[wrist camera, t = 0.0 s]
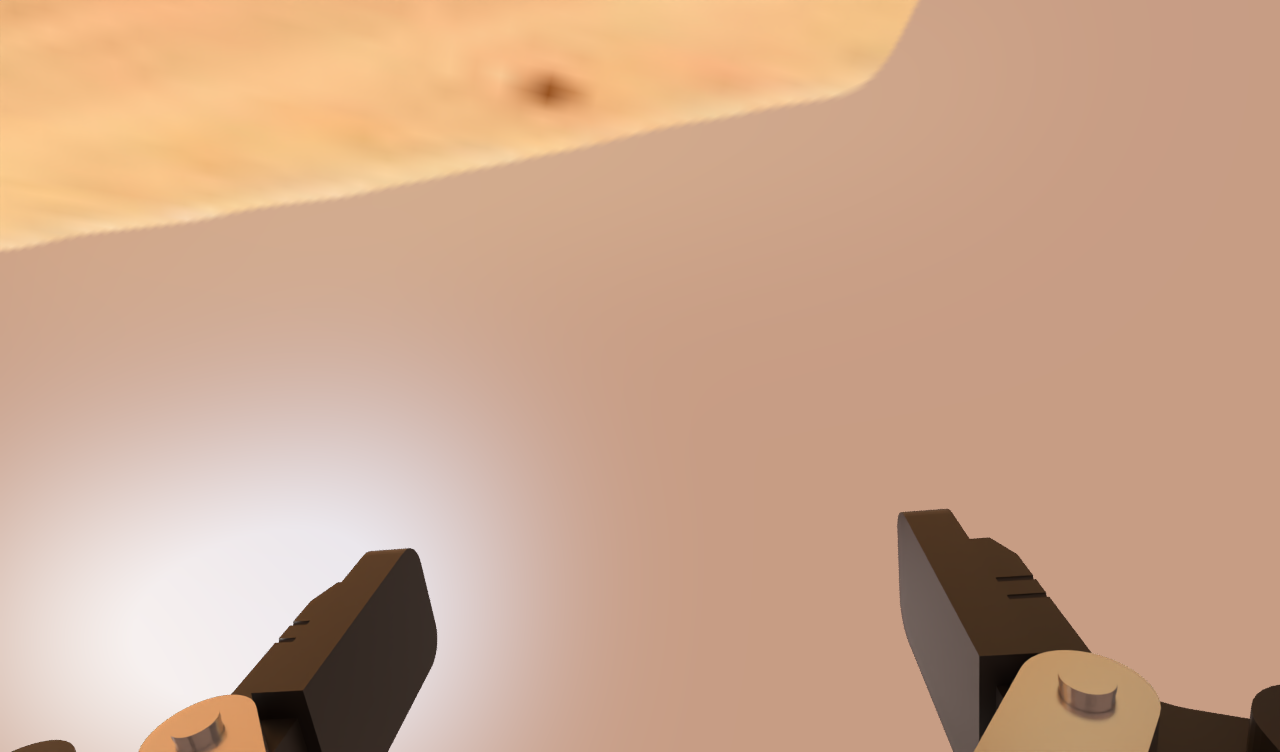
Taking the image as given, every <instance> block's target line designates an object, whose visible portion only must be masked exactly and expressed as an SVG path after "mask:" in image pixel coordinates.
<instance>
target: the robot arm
mask: <svg viewBox="0 0 1280 752" xmlns="http://www.w3.org/2000/svg"><path fill="white" fill-rule="evenodd" d="M897 528H898V555H899V556H898V558H899V586H900V587H899V588H900V606H901V613H902V619H903V624H904V629H905V632H906V636H907V639H908V642H909V644H910V647H911V649H912V651H913V654H914V656H915V659H916V661H917V664H918V666H919V668H920V671H921V674H922V676H923V678H924V681H925V683H926V685H927V688H928V690H929V693H930V696H931V698H932V701H933V703H934V705H935V708H936V710H937V712H938V715H939V718H940V720H941V722H942V725H943V727H944V730H945V732H946V735H947V737H948V740H949V742H950V745H951V747H952V750H953V752H1280V685H1276V686H1271V687H1269V688H1266V689H1264V690H1262V691H1261V692H1259V693H1258V694H1257V695H1256V696H1255V698H1254V699H1253V702H1252V706H1251V714H1250V719H1247V718H1240V717H1235V716H1229V715H1223V714H1217V713H1211V712H1205V711H1199V710H1193V709H1187V708H1182V707H1178V706H1174V705H1170V704H1167V703H1163V702H1160V700H1159V698H1158V695H1157V693H1156V692H1155V690H1154V689H1153V687H1152V686H1151V685H1150V684H1149V683H1148V682H1147V681H1146V680H1145V679H1144V678H1143V677H1142V676H1140V675H1139V674H1138V673H1136V672H1135V671H1133V670H1132V669H1130V668H1128V667H1127V666H1125V665H1123V664H1121V663H1119V662H1116V661H1114V660H1112V659H1109V658H1106V657H1103V656H1100V655H1096V654H1093V653H1091V651H1090V650H1089V649H1088V648H1087V646H1086V645H1085V644H1084V642H1083V641H1082V640H1081V638H1080V637H1079V636H1078V634H1077V633H1076V632H1075V630H1074V629H1073V628H1072V626H1071V625H1070V624H1069V622H1068V621H1067V620H1066V618H1065V617H1064V616H1063V614H1062V613H1061V612H1060V611H1059V609H1058V608H1057V606H1056V605H1055V604H1054V603H1053V601H1052V600H1051V599H1050V597H1047V596H1046V592H1045V591H1044V589H1043V588H1042V587H1041V585H1040V584H1039V583H1038V581H1037V580H1036V579H1033V575H1032V573H1031V572H1030V571H1029V569H1028V568H1027V567H1026V565H1025V564H1024V563H1023V562H1022V560H1021V559H1020V557H1019V556H1018V555H1017V554H1016V553H1014V552H1012V551H1011V550H1009V549H1008V548H1006V547H1004V546H1002V545H1001V544H999V543H998V542H996V541H994V540H993V539H991V538H977V539H969V537H968V536H967V534H966V533H965V531H964V530H963V529H962V527H961V525H960V524H959V522H958V521H957V519H956V518H955V516H954V515H953V513H952V512H951V511H950V510H949V509H938V510H926V511H912V512H901V513H899V516H898V524H897ZM293 623H294V624H293V626H289V627H288V629H287V630H286V631H285V632H284V633H283V634H282V636H281V637H280V638H279V643H275V644H274V645H273V646H272V647H271V648H270V650H269V651H268V652H267V653H266V654H265V655H264V657H263V658H262V659H261V660H260V661H259V663H258V664H257V665H256V666H255V667H254V668H253V670H252V671H251V672H250V673H249V674H248V675H247V677H246V678H245V679H244V680H243V681H242V683H241V684H240V685H239V686H238V687H237V688H236V690H235V691H234V692H233V693H232V694H231V695H223V696H218V697H214V698H211V699H207V700H204V701H201V702H198V703H196V704H194V705H192V706H190V707H187V708H185V709H183V710H182V711H180V712H178V713H176V714H175V715H173V716H172V717H170V718H169V719H167V720H166V721H165V722H163V723H162V724H161V725H159V726H158V727H157V728H156V729H155V730H154V731H153V732H152V733H151V734H150V735H149V736H148V737H147V738H146V740H145V741H144V742H143V744H142V745H141V748H140V750H139V752H388V750H389V748H390V746H391V744H392V743H393V741H394V739H395V737H396V735H397V733H398V731H399V729H400V727H401V725H402V723H403V721H404V719H405V717H406V715H407V714H408V712H409V710H410V708H411V706H412V704H413V702H414V700H415V698H416V696H417V694H418V692H419V690H420V688H421V687H422V684H423V682H424V681H425V679H426V677H427V675H428V673H429V671H430V669H431V667H432V665H433V662H434V659H435V655H436V649H437V629H436V624H435V620H434V616H433V611H432V607H431V603H430V599H429V595H428V591H427V586H426V582H425V578H424V574H423V570H422V566H421V562H420V559H419V556H418V554H417V553H416V551H415V550H414V549H411V548H408V549H394V550H380V551H370V552H367V553H366V554H365V555H364V556H363V557H362V558H361V559H360V560H359V562H358V563H357V564H356V565H355V566H354V568H353V569H352V570H351V572H350V573H349V574H348V575H347V576H346V577H345V579H344V580H343V581H342V582H338V583H336V584H335V585H333V586H332V587H330V588H329V589H328V590H326V591H325V592H323V593H322V594H321V595H319V596H318V597H316V598H315V599H313V600H312V601H311V602H310V603H309V604H308V605H307V606H306V607H305V609H304V610H303V611H302V612H301V613H300V614H299V616H298V617H297V618H296V619H295V621H294V622H293ZM12 752H76V750H75V748H74V746H73V745H72V744H71V743H69V742H67V741H62V740H49V741H44V742H39V743H35V744H31V745H28V746H25V747H22V748H20V749H17V750H15V751H12Z"/></svg>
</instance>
